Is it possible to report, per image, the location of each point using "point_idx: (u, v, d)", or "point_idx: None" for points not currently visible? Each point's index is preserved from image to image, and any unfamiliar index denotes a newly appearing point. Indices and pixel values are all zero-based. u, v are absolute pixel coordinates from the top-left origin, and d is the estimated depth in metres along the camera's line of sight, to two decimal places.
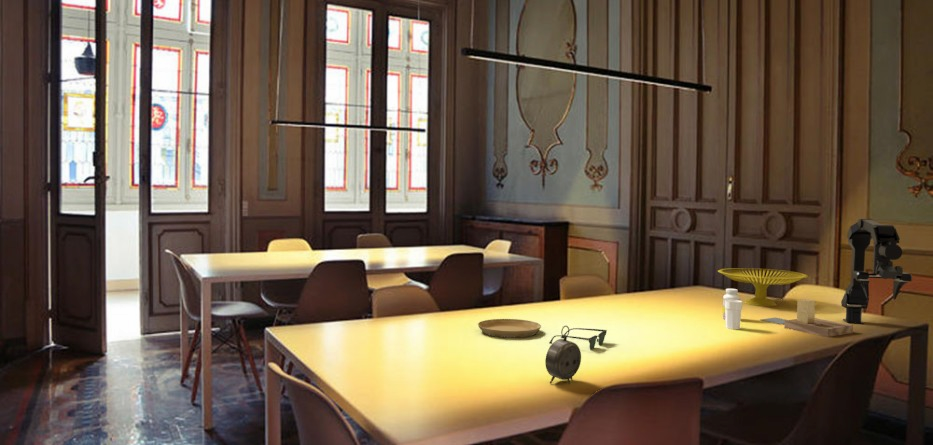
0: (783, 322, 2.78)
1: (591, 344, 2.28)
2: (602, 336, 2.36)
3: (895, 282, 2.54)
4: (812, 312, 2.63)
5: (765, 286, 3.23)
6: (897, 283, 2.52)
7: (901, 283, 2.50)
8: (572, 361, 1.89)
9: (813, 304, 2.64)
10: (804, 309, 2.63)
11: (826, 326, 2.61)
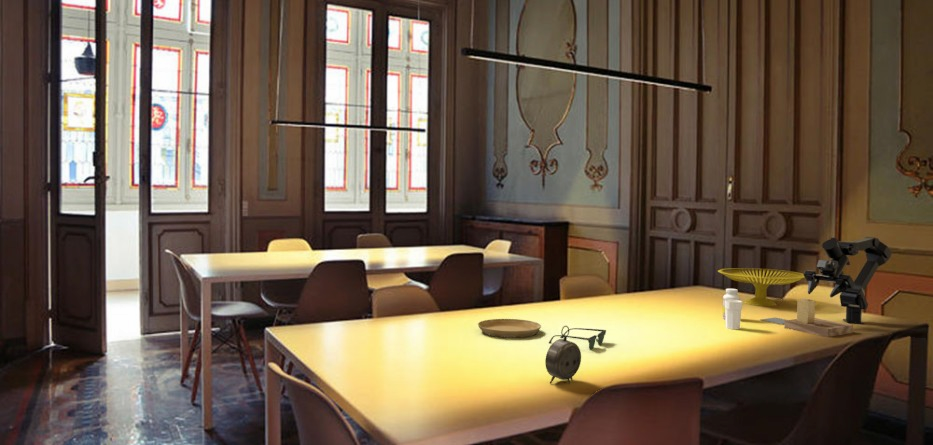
0: (783, 322, 2.78)
1: (590, 344, 2.28)
2: (601, 336, 2.37)
3: None
4: (812, 312, 2.63)
5: (765, 286, 3.23)
6: None
7: (838, 280, 2.65)
8: (572, 361, 1.89)
9: (813, 304, 2.64)
10: (804, 309, 2.63)
11: (826, 326, 2.61)
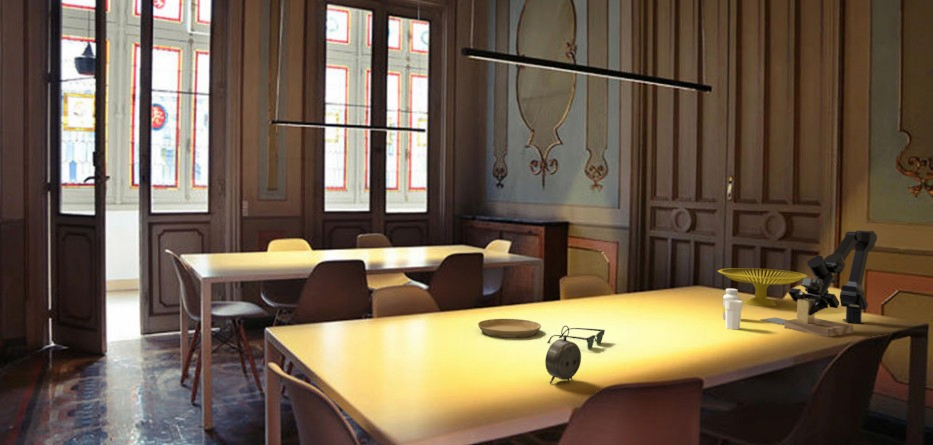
0: (783, 322, 2.78)
1: (589, 344, 2.29)
2: (600, 336, 2.37)
3: None
4: None
5: (765, 286, 3.23)
6: None
7: (817, 298, 2.62)
8: (572, 361, 1.89)
9: (813, 304, 2.64)
10: (804, 309, 2.63)
11: (826, 326, 2.61)
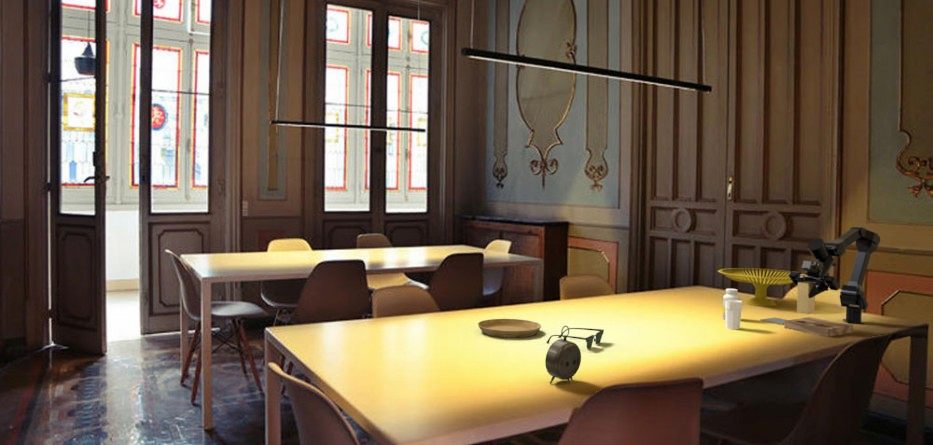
0: (783, 322, 2.78)
1: (588, 344, 2.29)
2: (599, 336, 2.37)
3: None
4: None
5: (765, 286, 3.23)
6: None
7: (817, 281, 2.62)
8: (572, 361, 1.89)
9: (813, 287, 2.63)
10: (804, 292, 2.63)
11: (826, 326, 2.61)
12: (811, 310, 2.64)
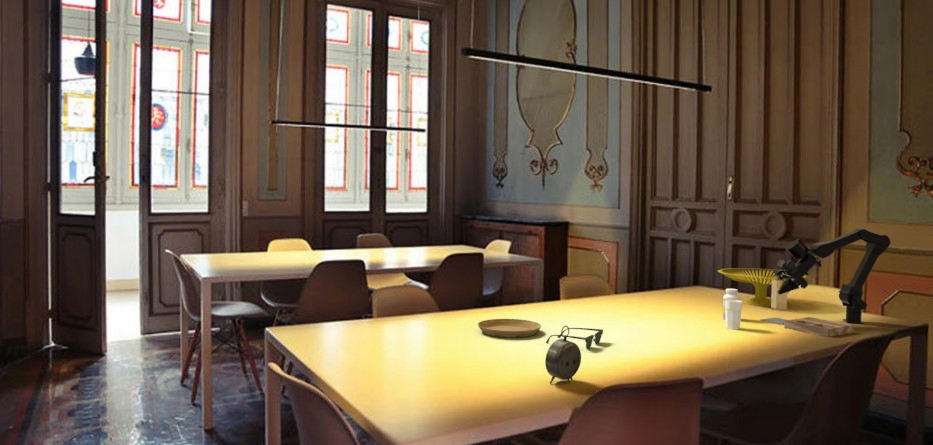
0: (783, 322, 2.78)
1: (587, 343, 2.29)
2: (598, 336, 2.37)
3: None
4: None
5: (765, 286, 3.23)
6: None
7: (787, 279, 2.77)
8: (572, 361, 1.89)
9: None
10: (774, 288, 2.80)
11: (826, 326, 2.61)
12: (782, 306, 2.79)
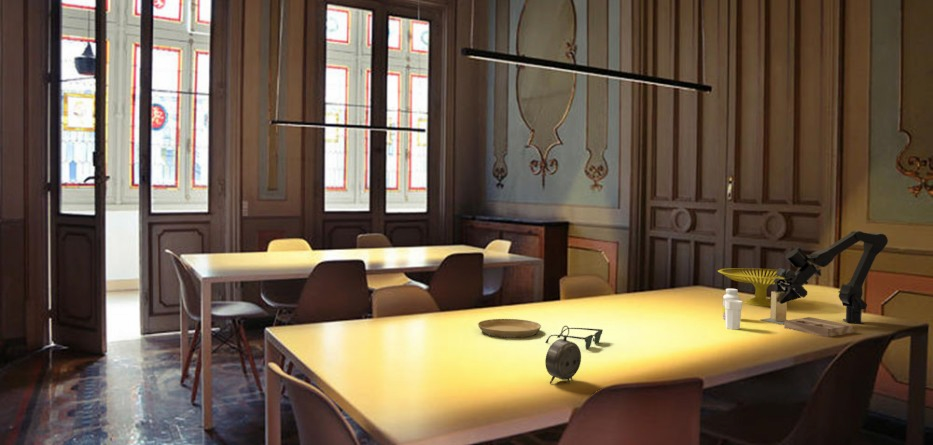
0: (783, 322, 2.78)
1: (587, 343, 2.29)
2: (598, 335, 2.37)
3: None
4: (782, 304, 2.79)
5: (765, 286, 3.23)
6: None
7: (788, 288, 2.76)
8: (572, 361, 1.89)
9: None
10: (774, 300, 2.81)
11: (826, 326, 2.61)
12: (781, 318, 2.79)
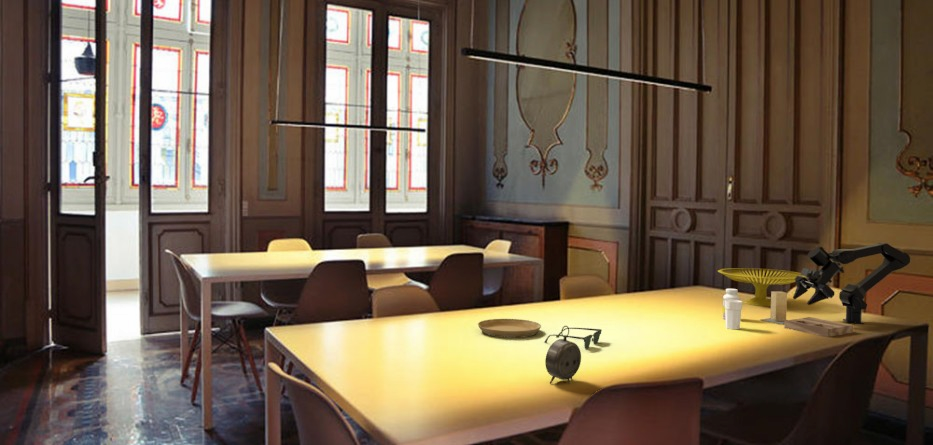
0: (783, 322, 2.78)
1: (586, 343, 2.29)
2: (597, 335, 2.38)
3: None
4: (782, 304, 2.79)
5: (765, 286, 3.23)
6: None
7: (816, 289, 2.74)
8: (572, 361, 1.89)
9: (784, 296, 2.79)
10: (774, 300, 2.81)
11: (826, 326, 2.61)
12: (781, 318, 2.79)
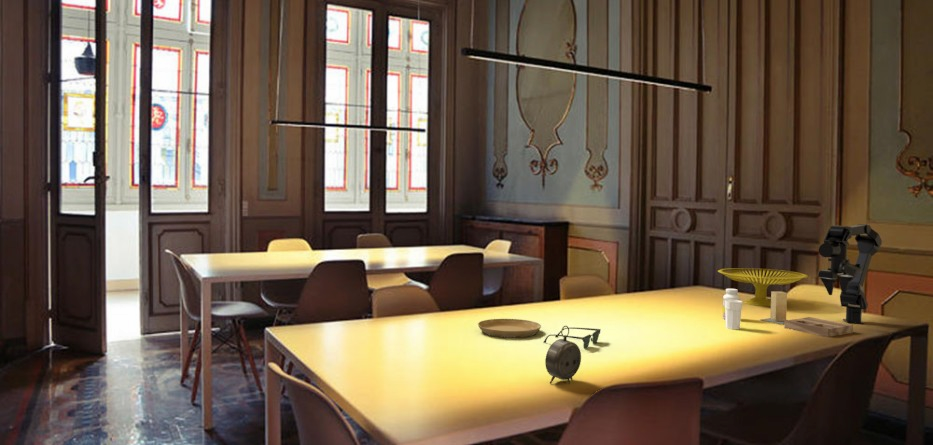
0: (783, 322, 2.78)
1: (585, 343, 2.29)
2: (596, 335, 2.38)
3: (842, 278, 2.77)
4: (782, 304, 2.79)
5: (765, 286, 3.23)
6: (847, 279, 2.75)
7: (852, 278, 2.74)
8: (572, 361, 1.89)
9: (784, 296, 2.79)
10: (774, 300, 2.81)
11: (826, 326, 2.61)
12: (781, 318, 2.79)
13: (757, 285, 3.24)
